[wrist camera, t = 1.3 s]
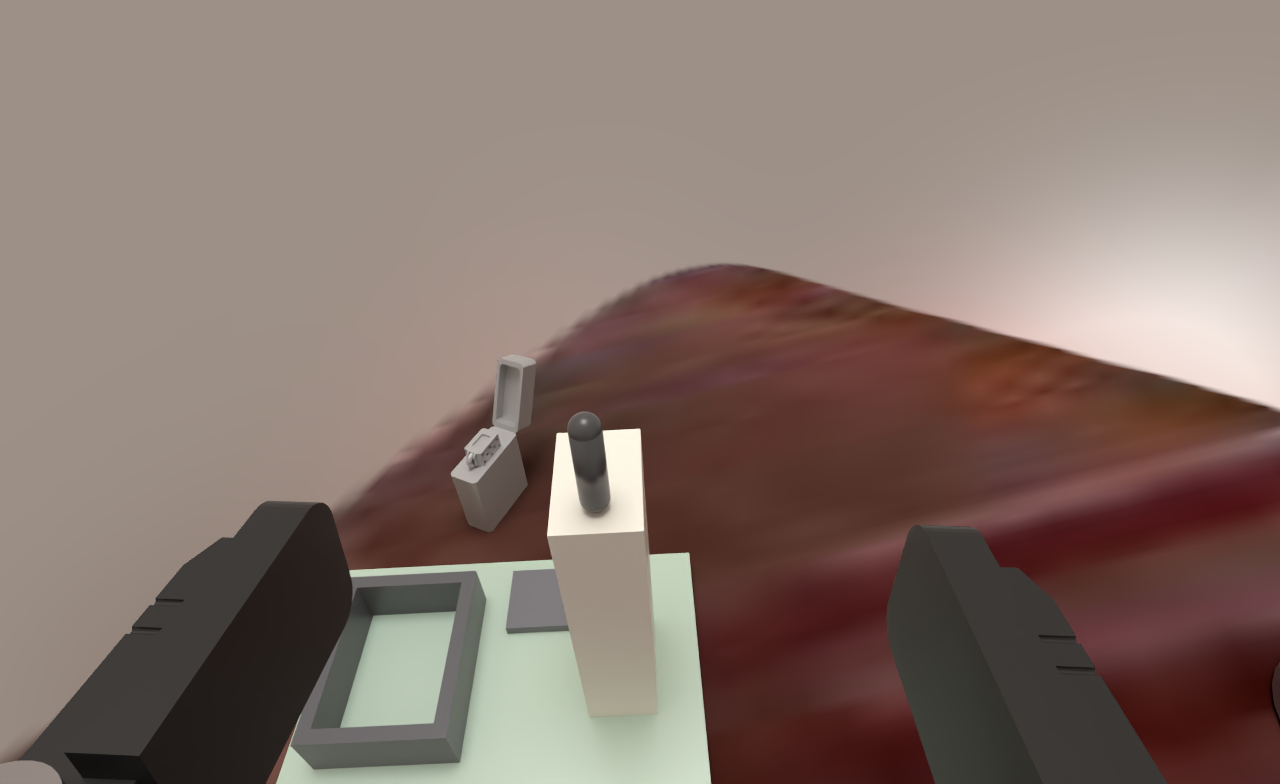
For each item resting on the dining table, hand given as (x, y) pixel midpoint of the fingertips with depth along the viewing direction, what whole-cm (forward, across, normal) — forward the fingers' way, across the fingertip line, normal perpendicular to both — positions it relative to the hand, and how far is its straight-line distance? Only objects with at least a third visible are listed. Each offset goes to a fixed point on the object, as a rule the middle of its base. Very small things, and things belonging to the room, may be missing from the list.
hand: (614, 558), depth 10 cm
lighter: (+25, +8, +20) cm, 33 cm away
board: (+13, +6, +22) cm, 26 cm away
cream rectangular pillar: (+13, +1, +20) cm, 24 cm away
